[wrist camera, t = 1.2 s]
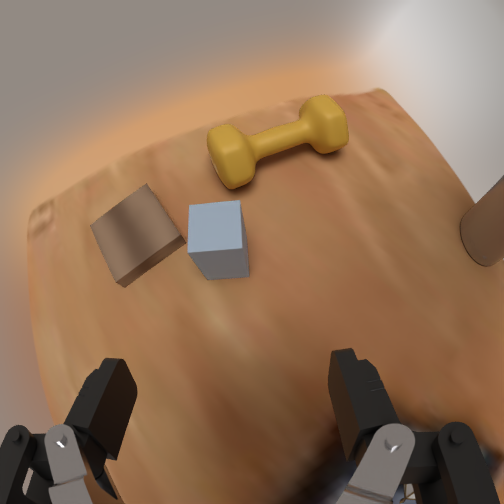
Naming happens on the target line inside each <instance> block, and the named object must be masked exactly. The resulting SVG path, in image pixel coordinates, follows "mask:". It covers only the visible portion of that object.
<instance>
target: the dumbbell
mask: <svg viewBox="0 0 504 504" xmlns="http://www.w3.org/2000/svg"><path fill="white" fill-rule="evenodd" d="M348 140H349V133H348V126H347V120H346V116H345V113H344V111H343V110H342V109H341V107H340V106H339V105H338V104H337V103H336V102H335V101H334V100H333V99H332V98H330V97H329V96H328V95H319V96H315V97H312V98H310V99H309V100H307V101H306V102H305V103H304V104H303V105H302V107H301V108H300V110H299V120H297V121H295V122H292V123H288V124H284V125H280V126H276V127H273V128H271V129H268V130H265V131H263V132H260V133H258V134H255V135H251V136H249V135H245V134H243V133H242V132H241V131H240V130H239V129H238V128H236V127H235V126H233V125H231V124H224V125H221V126H218V127H215V128H213V129H211V130H210V131H209V132H208V135H207V147H208V151H209V154H210V158H211V160H212V163H213V166H214V168H215V170H216V173H217V174H218V176H219V178H220V179H221V181H222V182H223V184H224V185H225V186H226V187H227V188H229V189H235V188H237V187H240V186H242V185H244V184H246V183H248V182H250V181H251V180H252V178H253V177H254V174H255V165H256V163H257V161H258V160H259V159H261V158H263V157H266V156H269V155H272V154H275V153H278V152H280V151H283V150H286V149H289V148H292V147H295V146H297V145H300V144H302V143H309V144H310V145H311V146H312V147H313V148H314V149H315V150H316V151H317V152H319V153H321V154H326V153H330V152H333V151H336V150H338V149H340V148H342V147H344V146H345V145H347V143H348Z"/></svg>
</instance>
